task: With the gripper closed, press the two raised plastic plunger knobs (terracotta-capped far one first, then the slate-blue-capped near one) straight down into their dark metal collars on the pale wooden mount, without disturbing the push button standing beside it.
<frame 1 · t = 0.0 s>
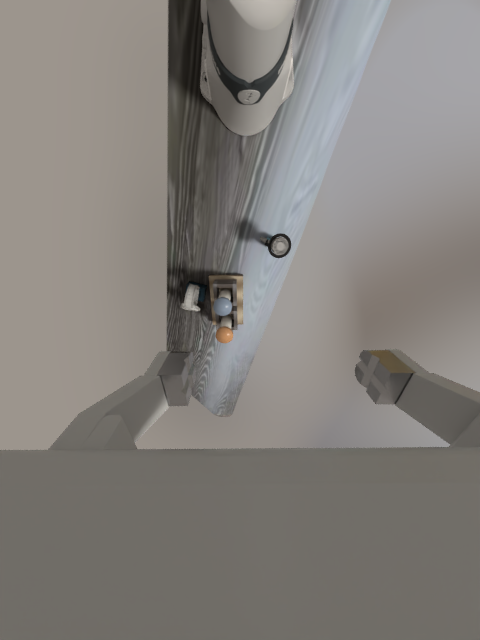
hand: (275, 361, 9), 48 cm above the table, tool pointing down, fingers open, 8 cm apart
watch: (197, 290, 57), on the table
mount: (227, 299, 59), on the table
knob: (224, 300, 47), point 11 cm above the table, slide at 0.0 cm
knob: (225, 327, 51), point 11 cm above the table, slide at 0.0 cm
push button: (271, 242, 51), on the table
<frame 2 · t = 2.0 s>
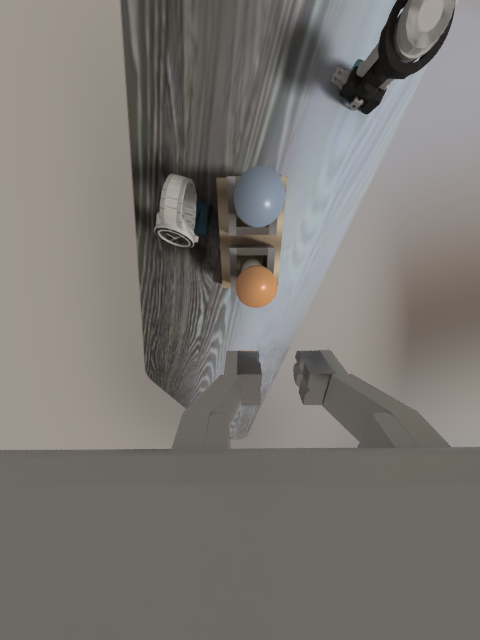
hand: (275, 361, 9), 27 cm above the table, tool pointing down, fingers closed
watch: (193, 217, 30), on the table
mount: (250, 238, 31), on the table
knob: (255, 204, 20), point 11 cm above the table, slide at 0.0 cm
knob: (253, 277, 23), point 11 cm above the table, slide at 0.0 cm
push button: (352, 92, 23), on the table
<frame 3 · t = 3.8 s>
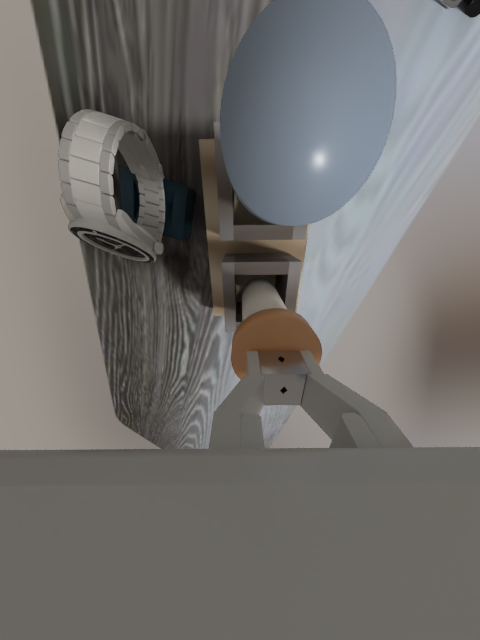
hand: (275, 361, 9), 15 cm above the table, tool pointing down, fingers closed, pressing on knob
watch: (167, 209, 19), on the table
mount: (255, 243, 20), on the table
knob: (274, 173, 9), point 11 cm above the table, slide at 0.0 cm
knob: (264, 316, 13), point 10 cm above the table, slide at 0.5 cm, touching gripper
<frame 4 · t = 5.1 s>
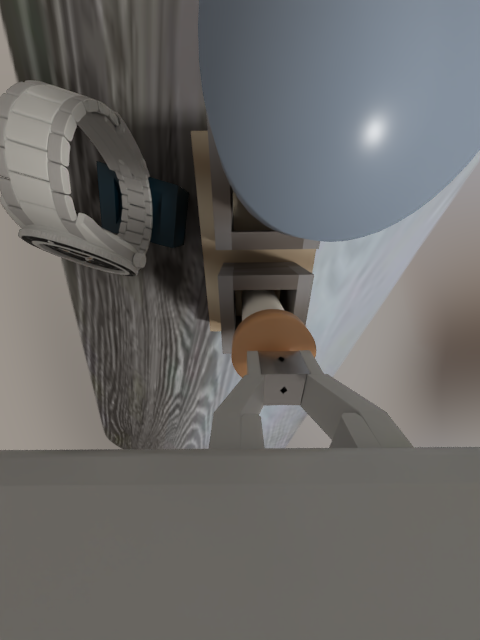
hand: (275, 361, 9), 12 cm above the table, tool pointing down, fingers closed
watch: (156, 213, 17), on the table
mount: (257, 250, 18), on the table
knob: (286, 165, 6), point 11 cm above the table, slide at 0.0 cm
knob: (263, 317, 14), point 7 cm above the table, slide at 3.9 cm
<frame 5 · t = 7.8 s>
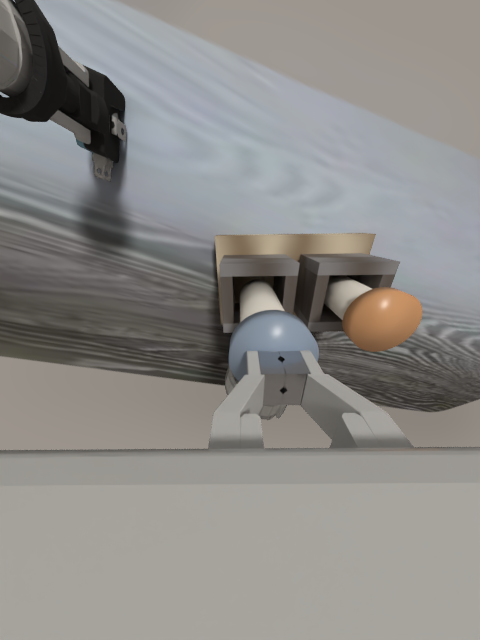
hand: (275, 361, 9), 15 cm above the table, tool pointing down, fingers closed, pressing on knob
watch: (256, 341, 27), on the table
mount: (285, 279, 22), on the table
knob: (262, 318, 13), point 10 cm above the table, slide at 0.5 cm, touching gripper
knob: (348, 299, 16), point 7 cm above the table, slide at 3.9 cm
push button: (110, 138, 16), on the table
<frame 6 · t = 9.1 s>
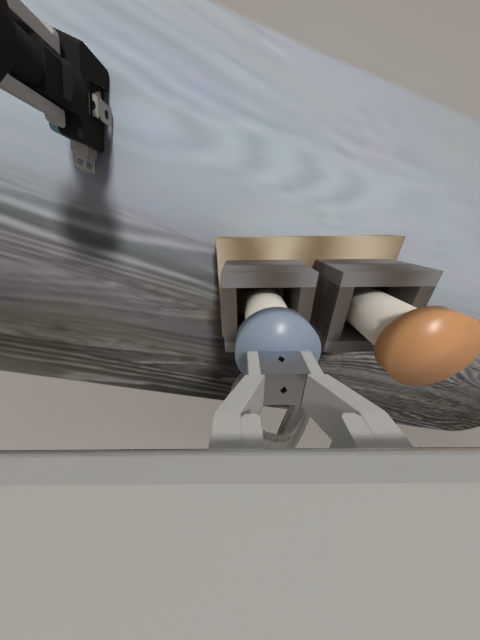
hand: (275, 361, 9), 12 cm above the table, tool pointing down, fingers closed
watch: (261, 355, 24), on the table
mount: (296, 287, 19), on the table
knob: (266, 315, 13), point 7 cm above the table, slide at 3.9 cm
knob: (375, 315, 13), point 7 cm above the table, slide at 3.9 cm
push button: (94, 123, 14), on the table
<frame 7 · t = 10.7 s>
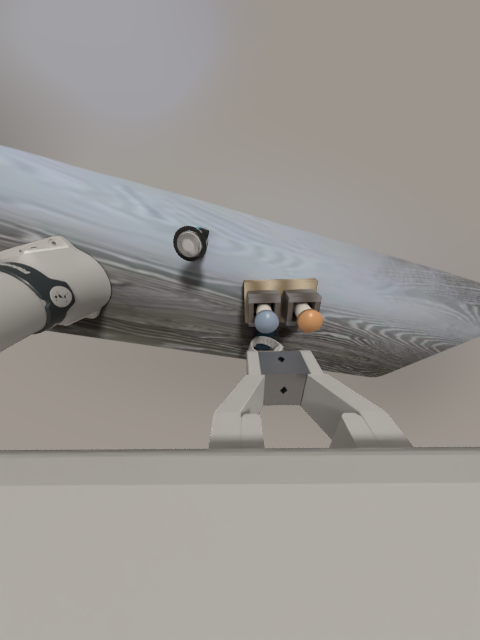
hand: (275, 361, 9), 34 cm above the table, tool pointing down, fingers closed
watch: (262, 332, 48), on the table
mount: (277, 300, 44), on the table
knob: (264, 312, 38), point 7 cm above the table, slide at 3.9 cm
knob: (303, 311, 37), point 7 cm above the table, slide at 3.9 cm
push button: (200, 243, 38), on the table
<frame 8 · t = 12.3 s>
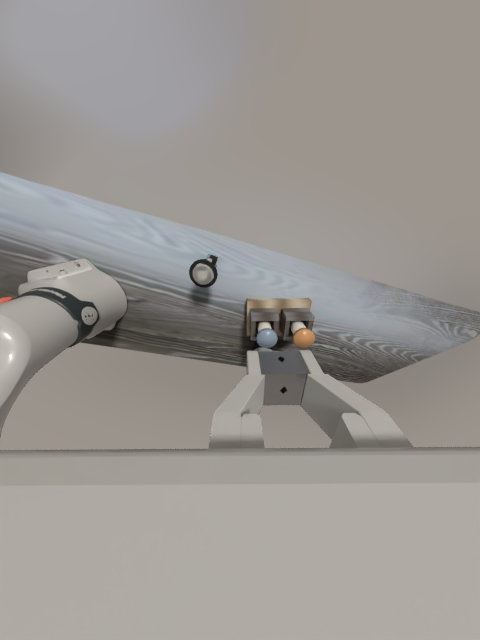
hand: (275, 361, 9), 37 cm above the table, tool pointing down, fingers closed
watch: (262, 343, 54), on the table
mount: (276, 316, 49), on the table
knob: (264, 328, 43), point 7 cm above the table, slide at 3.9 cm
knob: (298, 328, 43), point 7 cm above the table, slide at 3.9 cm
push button: (209, 267, 43), on the table
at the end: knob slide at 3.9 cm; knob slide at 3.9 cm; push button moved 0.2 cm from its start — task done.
